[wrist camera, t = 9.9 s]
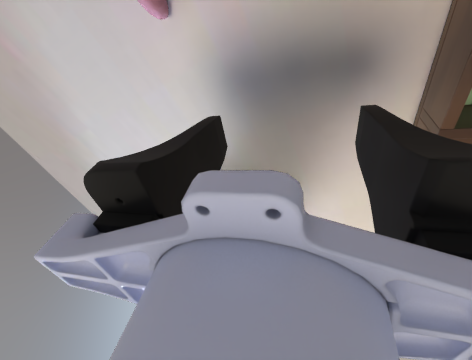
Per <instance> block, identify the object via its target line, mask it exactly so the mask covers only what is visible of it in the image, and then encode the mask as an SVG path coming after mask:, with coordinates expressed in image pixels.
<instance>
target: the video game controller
mask: <svg viewBox="0 0 472 360" xmlns="http://www.w3.org/2000/svg"><path fill="white" fill-rule="evenodd" d="M137 1H138V2H139V3H140V4H141V5H142V6H143V7H144V8H145V9H146V10H147V11H148V12H149V13H150V14H151V15H153V16H155V17H156V18H158V19H166V18H167V17H168V5H167V1H166V0H137Z"/></svg>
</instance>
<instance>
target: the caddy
mask: <svg viewBox="0 0 472 360" xmlns="http://www.w3.org/2000/svg"><path fill="white" fill-rule="evenodd" d="M414 126H416V127H419V128H421V129H423V130H426V131H428V132H431V133H434V134H437V135H439V136H443V137H446V138H449V139H453V140H457V141H461V142H464V143H469V144H472V0H453V2H452V5H451V8H450V12H449V15H448V18H447V21H446V24H445V27H444V30H443V34H442V37H441V40H440V43H439V46H438V49H437V53H436V56H435V59H434V62H433V65H432V68H431V71H430V75H429V78H428V81H427V84H426V87H425V90H424V93H423V97H422V100H421V103H420V106H419V109H418V112H417V115H416V119H415V122H414Z"/></svg>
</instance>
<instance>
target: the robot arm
mask: <svg viewBox="0 0 472 360" xmlns="http://www.w3.org/2000/svg"><path fill="white" fill-rule="evenodd" d="M355 144H356V152H357V158H358V162H359V165H360V168H361V171H362V175H363V178H364V181H365V184H366V187H367V190H368V194H369V198H370V204H371V210H372V216H373V222H374V229H375V233H373V232H369V231H366V230H362V229H359V228H355V227H351V226H348V225H344V224H341V223H337V222H334V221H330V220H327V219H323V218H319V217H316V216H312V215H309V214H308V213H306V211H305V210H304V205H303V191H302V188H301V185H300V183H299V182H298V181H297V180H296V179H294V178H293V177H292V176H290V175H289V174H287V173H282V172H277V171H273V170H220V169H221V166H222V164H223V162H224V159H225V155H226V151H227V143H226V138H225V134H224V130H223V126H222V122H221V117H220V116H210V117H208V118H206V119H204V120H202V121H200V122H199V123H197V124H196V125H194V126H192V127H191V128H189V129H188V130H186V131H184V132H183V133H181V134H179V135H177V136H176V137H174V138H172V139H170V140H168V141H166V142H164V143H162V144H160V145H157V146H155V147H152V148H149V149H147V150H144V151H141V152H138V153H135V154H131V155H127V156H124V157H119V158H114V159H109V160H104V161H99V162H98V163H97V164H96V165H95V166H93V167H92V168H91V169H90V170H89V171H88V172H87V173H86V174H85V176H84V185H85V188H86V190H87V191H88V193H89V194H90V196H91V197H92V198H93V199H94V201H95V202H96V203H97V205H98V206H99V207H100V208H101V210H102V211H103V212H102V213H101V215H100V216H99V217H98V216H96V215H94V214H87V213H74V214H73V215H72V216H71V217H70V218H69V219H68V220H67V221H66V222H65V223H64V224H63V226H61V228H60V229H59V230H58V231H57V232H56V233H55V234H54V235H53V236H52V237H51V238H50V239H49V240H48V241H47V242H46V244H45V245H44V246H43V247H42V248H41V249H40V250H39V251H38V252H37V253H36V254H35V255H34V259H36V260H37V261H38V262H40V263H41V264H42V265H43V266H45V267H46V268H47V269H48V270H50V271H51V272H53V273H54V274H55V275H56V276H57V277H59V278H60V279H61V280H63V281H64V282H65V283H66V284H68V285H69V286H71V287H76V288H81V289H86V290H90V291H94V292H98V293H102V294H105V295H109V296H112V297H116V298H119V299H122V300H125V301H128V302H131V303H135V304H137V306H136V308H135V310H134V312H133V314H132V316H131V318H130V320H129V322H128V324H127V326H126V328H125V330H124V332H123V334H122V336H121V338H120V340H119V342H118V344H117V346H116V348H115V349H114V352H113V353H112V356H111V357H110V359H109V360H400V359H399V358H408V359H420V360H472V144H469V143H464V142H461V141H457V140H453V139H449V138H446V137H443V136H439V135H437V134H434V133H431V132H428V131H426V130H423V129H421V128H419V127H416V126H414V125H412V124H410V123H408V122H406V121H404V120H402V119H400V118H399V117H397V116H395V115H393V114H392V113H390V112H388V111H386V110H385V109H383V108H381V107H379V106H377V105H366V106H361V110H360V116H359V122H358V129H357V135H356V141H355Z"/></svg>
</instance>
